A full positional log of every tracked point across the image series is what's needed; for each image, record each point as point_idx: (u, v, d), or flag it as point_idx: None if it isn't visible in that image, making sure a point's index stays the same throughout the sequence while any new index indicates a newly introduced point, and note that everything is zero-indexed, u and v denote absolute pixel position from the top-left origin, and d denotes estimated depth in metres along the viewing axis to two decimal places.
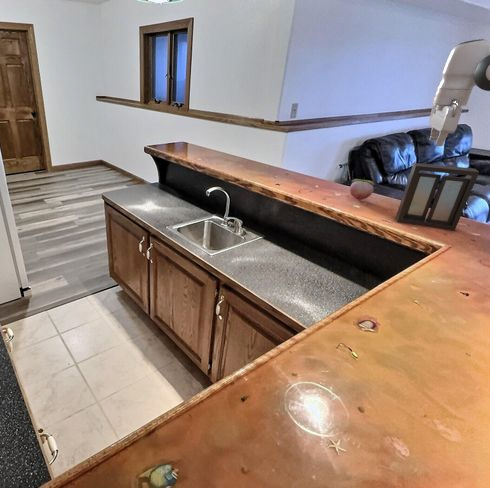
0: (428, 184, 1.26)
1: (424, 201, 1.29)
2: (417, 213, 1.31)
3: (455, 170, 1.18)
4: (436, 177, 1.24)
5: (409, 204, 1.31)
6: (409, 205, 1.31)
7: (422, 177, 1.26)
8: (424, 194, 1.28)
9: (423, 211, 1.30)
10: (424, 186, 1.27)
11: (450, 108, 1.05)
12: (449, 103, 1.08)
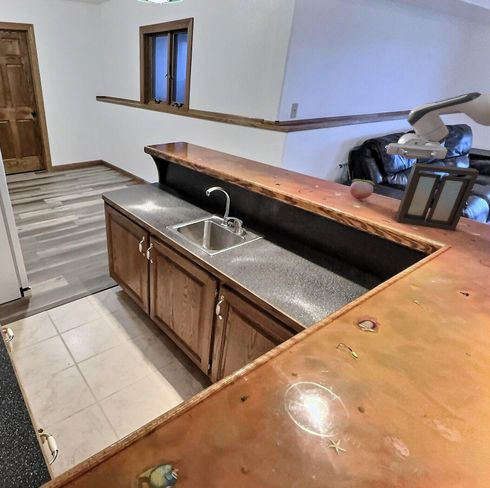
0: (428, 184, 1.26)
1: (424, 201, 1.29)
2: (417, 213, 1.31)
3: (455, 170, 1.18)
4: (436, 177, 1.24)
5: (409, 204, 1.31)
6: (409, 205, 1.31)
7: (422, 177, 1.26)
8: (424, 194, 1.28)
9: (423, 211, 1.30)
10: (424, 186, 1.27)
11: None
12: None
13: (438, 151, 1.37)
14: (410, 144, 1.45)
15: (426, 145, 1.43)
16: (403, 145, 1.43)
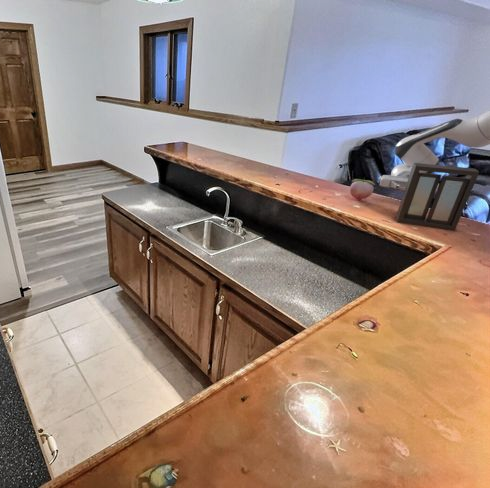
0: (428, 184, 1.26)
1: (424, 201, 1.29)
2: (417, 213, 1.31)
3: (455, 170, 1.18)
4: (436, 177, 1.24)
5: (409, 204, 1.31)
6: (409, 205, 1.31)
7: (422, 177, 1.26)
8: (424, 194, 1.28)
9: (423, 211, 1.30)
10: (424, 186, 1.27)
11: None
12: None
13: None
14: (403, 177, 1.47)
15: None
16: (396, 178, 1.45)
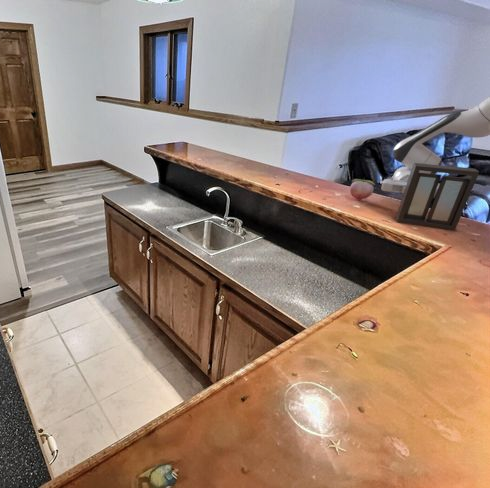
0: (428, 184, 1.26)
1: (424, 201, 1.29)
2: (417, 213, 1.31)
3: (455, 170, 1.18)
4: (436, 177, 1.24)
5: (409, 204, 1.31)
6: (409, 205, 1.31)
7: (422, 177, 1.26)
8: (424, 194, 1.28)
9: (423, 211, 1.30)
10: (424, 186, 1.27)
11: None
12: None
13: None
14: (406, 181, 1.40)
15: None
16: (398, 182, 1.38)
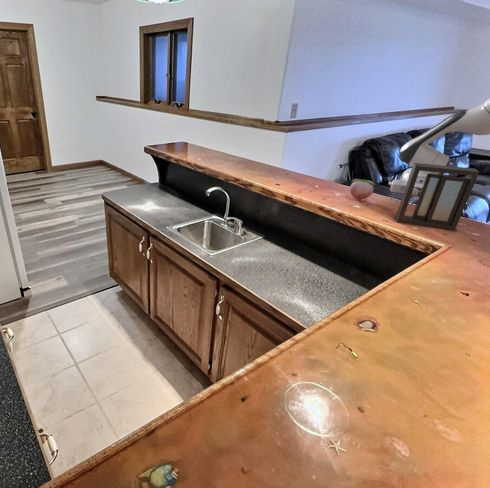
0: (438, 185, 1.25)
1: None
2: (427, 214, 1.30)
3: (455, 170, 1.18)
4: None
5: (419, 205, 1.30)
6: (419, 206, 1.30)
7: (433, 178, 1.25)
8: (434, 195, 1.26)
9: None
10: (434, 187, 1.26)
11: None
12: None
13: None
14: (415, 182, 1.38)
15: None
16: None
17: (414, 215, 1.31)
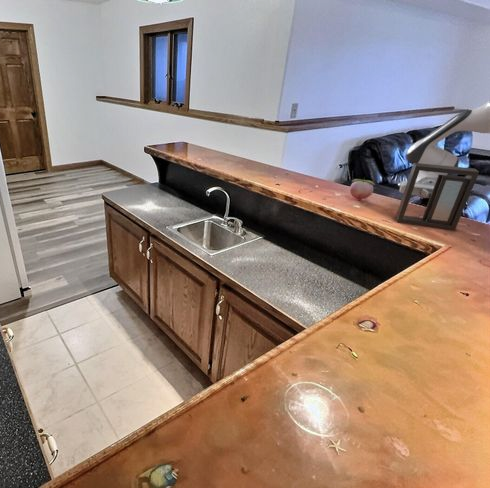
0: None
1: None
2: None
3: (455, 170, 1.18)
4: None
5: (429, 207, 1.28)
6: (429, 208, 1.28)
7: None
8: None
9: None
10: None
11: None
12: None
13: None
14: (425, 183, 1.37)
15: None
16: (417, 184, 1.36)
17: (424, 216, 1.30)
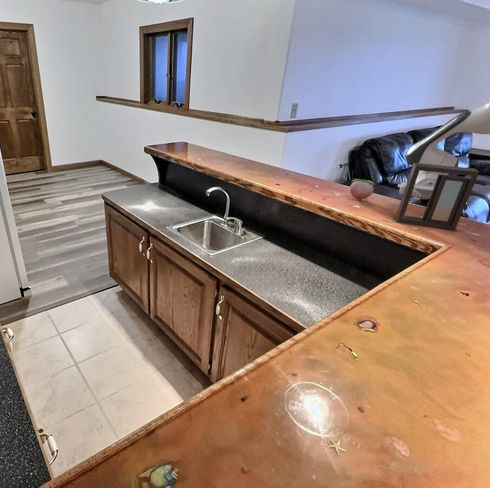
0: None
1: None
2: None
3: (455, 170, 1.18)
4: None
5: (429, 207, 1.28)
6: (429, 208, 1.28)
7: None
8: None
9: None
10: None
11: None
12: None
13: None
14: (424, 185, 1.37)
15: None
16: (417, 186, 1.36)
17: (424, 216, 1.30)
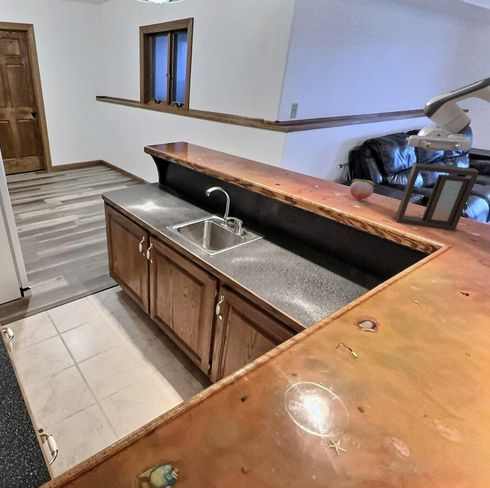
0: None
1: None
2: None
3: (455, 170, 1.18)
4: None
5: (429, 207, 1.28)
6: (429, 208, 1.28)
7: None
8: None
9: None
10: None
11: None
12: None
13: (462, 143, 1.33)
14: (432, 136, 1.41)
15: (449, 137, 1.39)
16: (425, 137, 1.39)
17: (424, 216, 1.30)
